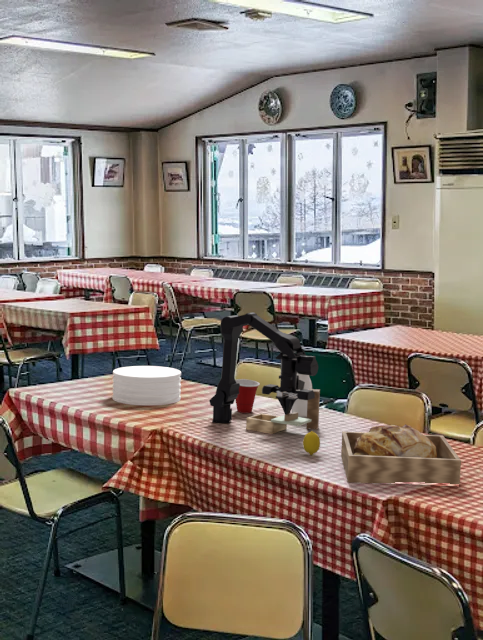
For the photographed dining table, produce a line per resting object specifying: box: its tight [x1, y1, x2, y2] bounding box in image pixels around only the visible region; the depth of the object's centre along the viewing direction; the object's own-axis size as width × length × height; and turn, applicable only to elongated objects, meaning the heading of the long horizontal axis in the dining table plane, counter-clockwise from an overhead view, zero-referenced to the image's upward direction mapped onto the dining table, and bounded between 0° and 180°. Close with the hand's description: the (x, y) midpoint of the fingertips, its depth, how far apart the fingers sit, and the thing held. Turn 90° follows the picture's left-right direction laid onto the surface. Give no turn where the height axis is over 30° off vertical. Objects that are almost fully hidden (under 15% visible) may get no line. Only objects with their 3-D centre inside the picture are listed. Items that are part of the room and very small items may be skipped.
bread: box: [354, 424, 437, 458], centre depth 285 cm, size 25×27×15 cm
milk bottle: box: [291, 372, 313, 418], centre depth 358 cm, size 8×8×20 cm
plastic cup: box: [235, 378, 260, 414], centre depth 362 cm, size 11×11×12 cm
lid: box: [271, 411, 312, 427], centre depth 328 cm, size 11×10×3 cm
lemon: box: [302, 430, 321, 456], centre depth 299 cm, size 6×6×8 cm
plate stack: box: [112, 365, 182, 406], centre depth 382 cm, size 28×28×12 cm
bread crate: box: [340, 430, 462, 485], centre depth 284 cm, size 32×30×8 cm
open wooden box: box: [245, 413, 287, 435], centre depth 334 cm, size 11×10×4 cm
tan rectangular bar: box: [305, 388, 321, 430], centre depth 337 cm, size 4×4×14 cm
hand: (287, 415), depth 329 cm, fingers closed
